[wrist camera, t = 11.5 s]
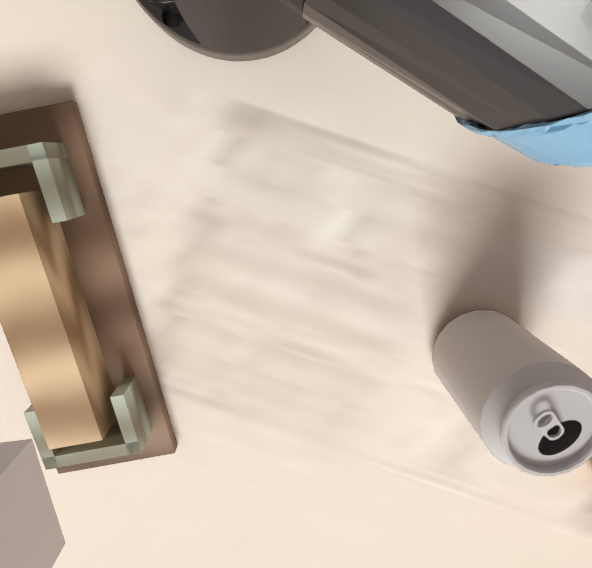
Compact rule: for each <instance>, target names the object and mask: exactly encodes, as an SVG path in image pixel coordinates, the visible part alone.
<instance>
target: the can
mask: <svg viewBox="0 0 592 568" xmlns="http://www.w3.org/2000/svg"><path fill="white" fill-rule="evenodd" d="M432 362H433V366H434V371H435V373H436V375H437V376H438V378H439V379H440V381H441V382H442V384H443V385H444V387H445V388H446V389H447V391H448V392H449V394H450V395H451V397H452V398H453V400H454V401H455V402H456V404H457V405H458V407H459V408H460V410H461V411H462V412H463V414H464V415H465V417H466V418H467V420H468V421H469V422H470V424H471V425H472V427H473V428H474V430H475V431H476V433H477V434H478V435H479V437H480V438H481V440H482V441H483V443H484V444H485V445H486V447H487V448H488V450H489V451H490V453H491V454H492V455H493V456H494V457H496V458H497V459H499V460H500V461H501V462H503V463H504V464H506V465H509V466H513V467H516V468H518V469H519V470H521V471H522V472H525V473H528V474H531V475H535V476H556V475H560V474H563V473H567V472H570V471H572V470H574V469H575V468H577V467H579V466H581V465H583V464H584V463H585V462H586V461H587V460H588V459H589V458H591V457H592V379H591V378H590V377H589V376H588V375H587V374H585V373H584V372H583V371H582V370H580V369H579V368H578V367H576V366H575V365H574V364H572V363H571V362H569V361H568V360H567V359H565V358H564V357H563V356H561V355H560V354H558V353H557V352H556V351H554V350H553V349H552V348H550V347H549V346H547V345H546V344H545V343H543V342H542V341H541V340H539V339H538V338H536V337H535V336H534V335H532V334H531V333H530V332H528V331H527V330H525V329H524V328H523V327H521V326H520V325H519V324H517V323H516V322H514V321H513V320H512V319H510V318H509V317H507V316H506V315H504V314H501V313H499V312H496V311H493V310H475V311H472V312H468V313H465V314H462V315H460V316H459V317H457V318H455V319H454V320H452V321H451V322H449V323H448V324H447V326H446V327H445V328H444V329H443V330H442V331H441V332H440V333H439V336H438V338H437V340H436V342H435V344H434V347H433V355H432Z"/></svg>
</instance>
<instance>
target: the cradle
mask: <svg viewBox="0 0 592 568" xmlns="http://www.w3.org/2000/svg"><path fill="white" fill-rule="evenodd" d="M38 190H42V193H43V196H44V199H45V202H46V205H47V208H48V211H49V214H50V217H51V221H52V223H56V222H60V224H61V227H62V230H63V233H64V236H65V239H66V243H67V246H68V249H69V252H70V255H71V258H72V261H73V264H74V267H75V270H76V274H77V277H78V280H79V283H80V286H81V289H82V292H83V295H84V298H85V301H86V305H87V308H88V311H89V314H90V317H91V320H92V323H93V326H94V329H95V332H96V336H97V339H98V342H99V345H100V348H101V351H102V354H103V357H104V360H105V363H106V367H107V370H108V373H109V376H110V379H111V382H112V385H113V388H114V392H113V394H112V395H111V396H110V399H111V402H112V405H113V408H114V411H115V414H116V417H117V418H116V419H115V421H114V423H113V424H112V426H111V427H110V429H109V431H108V432H107V434H106V435H105V437H104V439H103V440H101V441H95V442H90V443H84V444H79V445H73V446H67V447H62V448H56V449H50V450H49V448H48V445H47V443H46V440H45V438H44V435H43V432H42V430H41V427H40V424H39V422H38V419H37V417H36V414H35V411H34V409H33V406H32V405H31V406H30V407H29V408H28V409H27V410H26V411H25V412H24V415H25V417H26V420H27V422H28V425H29V428H30V430H31V433H32V435H33V438H34V440H35V443H36V445H37V448H38V450H39V453H40V456H41V458H42V461H43V463H44V466H45V468H46V470H47V469H53V468H57V471H58V473H59V474H60V473H65V472H71V471H77V470H82V469H88V468H93V467H99V466H105V465H110V464H116V463H121V462H127V461H133V460H138V459H144V458H149V457H155V456H161V455H166V454H172V453H175V451H176V448H177V443H176V439H175V436H174V433H173V429H172V426H171V422H170V419H169V416H168V412H167V409H166V405H165V402H164V399H163V395H162V392H161V389H160V385H159V382H158V378H157V375H156V372H155V368H154V365H153V361H152V358H151V355H150V351H149V348H148V344H147V341H146V338H145V334H144V331H143V327H142V324H141V321H140V317H139V314H138V311H137V307H136V304H135V300H134V297H133V294H132V290H131V287H130V283H129V280H128V277H127V273H126V270H125V266H124V263H123V260H122V256H121V253H120V249H119V246H118V243H117V239H116V236H115V233H114V229H113V226H112V222H111V219H110V216H109V212H108V209H107V205H106V202H105V199H104V195H103V192H102V188H101V185H100V182H99V178H98V175H97V172H96V168H95V165H94V161H93V158H92V155H91V151H90V148H89V144H88V141H87V138H86V134H85V131H84V127H83V124H82V121H81V117H80V114H79V110H78V107H77V104H76V103H75V102H71V101H69V102H64V103H58V104H53V105H48V106H43V107H38V108H33V109H28V110H23V111H18V112H12V113H7V114H2V115H0V197H3V196H8V195H13V194H19V193H25V192H31V191H38ZM2 328H3V327H2ZM7 341H8V340H7Z"/></svg>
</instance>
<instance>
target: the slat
mask: <svg viewBox="0 0 592 568" xmlns="http://www.w3.org/2000/svg"><path fill="white" fill-rule="evenodd" d="M0 322H1V325H2V327H3V330H4V333H5V335H6V338H7V340H8V343H9V346H10V348H11V351H12V354H13V356H14V359H15V361H16V364H17V367H18V369H19V372H20V375H21V377H22V380H23V382H24V385H25V388H26V390H27V393H28V396H29V398H30V401H31V403H32V406H33V409H34V411H35V414H36V417H37V419H38V422H39V424H40V427H41V430H42V432H43V435H44V438H45V440H46V443H47V445H48V448H49V450H50V449H56V448H62V447H67V446H73V445H79V444H84V443H90V442H95V441H101V440H103V439H104V437H105V435H106V434H107V432H108V431H109V429H110V427H111V426H112V424H113V423H114V421H115V419H116V418H117V417H116V414H115V411H114V408H113V405H112V402H111V399H110V396H111V395H112V394H113V392H114V388H113V385H112V382H111V379H110V376H109V373H108V370H107V367H106V363H105V360H104V357H103V354H102V351H101V348H100V345H99V342H98V339H97V336H96V332H95V329H94V326H93V323H92V320H91V317H90V314H89V311H88V308H87V305H86V301H85V298H84V295H83V292H82V289H81V286H80V283H79V280H78V277H77V274H76V270H75V267H74V264H73V261H72V258H71V255H70V252H69V249H68V246H67V243H66V239H65V236H64V233H63V230H62V227H61V224H60V222H56V223H52V221H51V217H50V214H49V211H48V208H47V205H46V202H45V199H44V196H43V193H42V190H38V191H31V192H25V193H19V194H13V195H8V196H3V197H0Z"/></svg>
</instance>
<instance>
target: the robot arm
mask: <svg viewBox="0 0 592 568" xmlns="http://www.w3.org/2000/svg"><path fill="white" fill-rule="evenodd" d="M136 1H137V2H138V4H139V5H140V6H141V7H142V9H143V10H144V11H145V12H146V13H147V14H148V15H149V17H150V18H151V19H152V20H153V21H154V22H155V23H156V24H157V25H158V26H159V27H160V28H161V29H162V30H163V31H165V32H166V33H167V34H168V35H169V36H171V37H172V38H173V39H175V40H176V41H177V42H179V43H181V44H182V45H184V46H185V47H187V48H189V49H191V50H193V51H195V52H198V53H200V54H203V55H206V56H209V57H212V58H216V59H221V60H228V61H251V60H257V59H262V58H266V57H269V56H272V55H275V54H278V53H280V52H282V51H284V50H286V49H288V48H290V47H292V46H293V45H295V44H297V43H298V42H299V41H301V40H302V39H303V38H305V37H306V36H307V35H308V34H309V33H310V32H312V31H313V30H314V28H315V27H316V26H317V27H318V28H320V29H321V30H323V31H324V32H326V33H327V34H329V35H331V36H332V37H334V38H335V39H337V40H338V41H340V42H341V43H343V44H345V45H346V46H348V47H349V48H351V49H352V50H354V51H355V52H357V53H359V54H360V55H362V56H363V57H365V58H366V59H368V60H369V61H371V62H373V63H374V64H376V65H377V66H379V67H380V68H382V69H383V70H385V71H387V72H388V73H390V74H391V75H393V76H394V77H396V78H397V79H399V80H401V81H402V82H404V83H405V84H407V85H408V86H410V87H411V88H413V89H415V90H416V91H418V92H419V93H421V94H422V95H424V96H425V97H427V98H429V99H430V100H432V101H433V102H435V103H436V104H438V105H439V106H441V107H443V108H444V109H446V110H447V111H449V112H450V113H452V114H453V115H454V116H455V118H456V120H457V122H458V123H459V124H461V125H463V126H464V127H465V128H467V129H468V130H470V131H472V132H475V133H477V134H481V135H485V136H490V137H494V138H495V139H497V140H499V141H501V142H502V143H504V144H506V145H508V146H509V147H511V148H513V149H515V150H516V151H518V152H520V153H522V154H523V155H525V156H527V157H529V158H531V159H533V160H535V161H538V162H541V163H545V164H549V165H568V166H574V167H581V166H584V167H592V0H136ZM64 544H65V541H64V537H63V534H62V531H61V528H60V525H59V522H58V519H57V516H56V513H55V509H54V506H53V503H52V500H51V497H50V494H49V491H48V488H47V485H46V481H45V478H44V475H43V472H42V469H41V466H40V463H39V460H38V457H37V453H36V450H35V447H34V444H33V441H32V439H28V440H19V441H11V442H3V443H0V568H52V566H53V564H54V563H55V561H56V559H57V557H58V555H59V554H60V552H61V550H62V548H63V546H64Z"/></svg>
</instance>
